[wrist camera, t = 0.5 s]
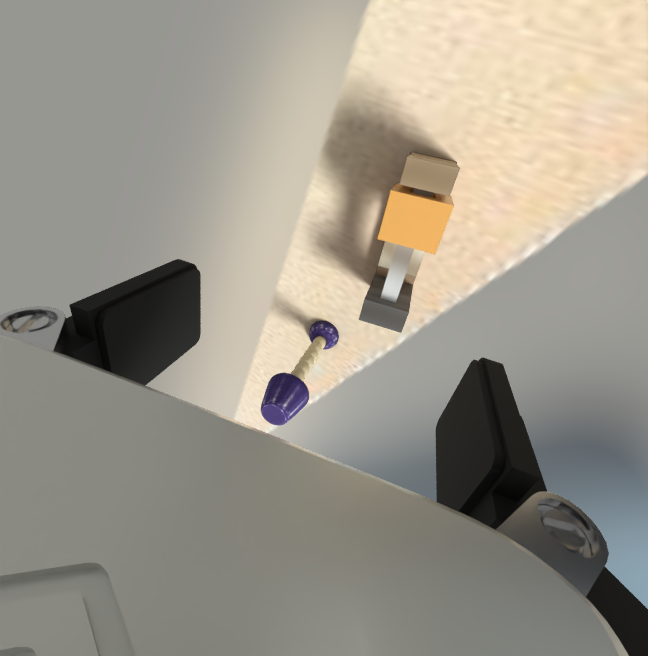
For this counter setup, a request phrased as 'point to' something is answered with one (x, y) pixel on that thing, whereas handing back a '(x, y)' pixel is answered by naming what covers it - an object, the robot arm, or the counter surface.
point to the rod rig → (403, 262)
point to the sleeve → (415, 219)
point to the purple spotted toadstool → (296, 378)
